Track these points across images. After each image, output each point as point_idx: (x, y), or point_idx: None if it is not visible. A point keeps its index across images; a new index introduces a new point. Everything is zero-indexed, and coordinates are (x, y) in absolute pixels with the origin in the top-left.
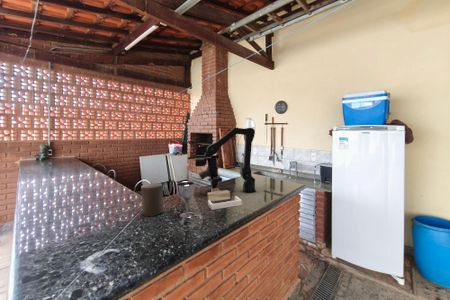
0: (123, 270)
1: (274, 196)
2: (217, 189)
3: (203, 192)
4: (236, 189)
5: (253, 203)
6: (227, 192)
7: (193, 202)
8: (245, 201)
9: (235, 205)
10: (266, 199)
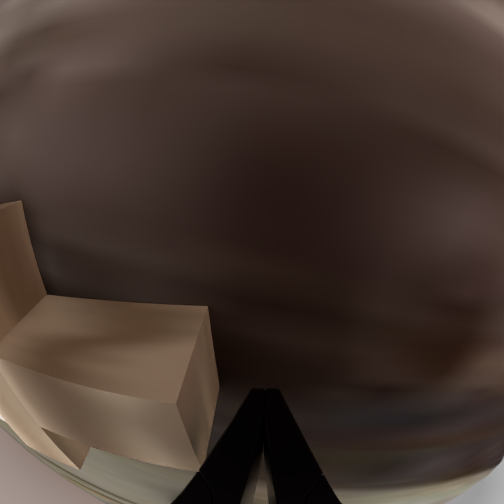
0: None
1: (105, 498)
2: (105, 441)
3: (458, 215)
4: None
5: None
6: (14, 428)
7: (5, 13)
8: None
9: None
10: (65, 471)
